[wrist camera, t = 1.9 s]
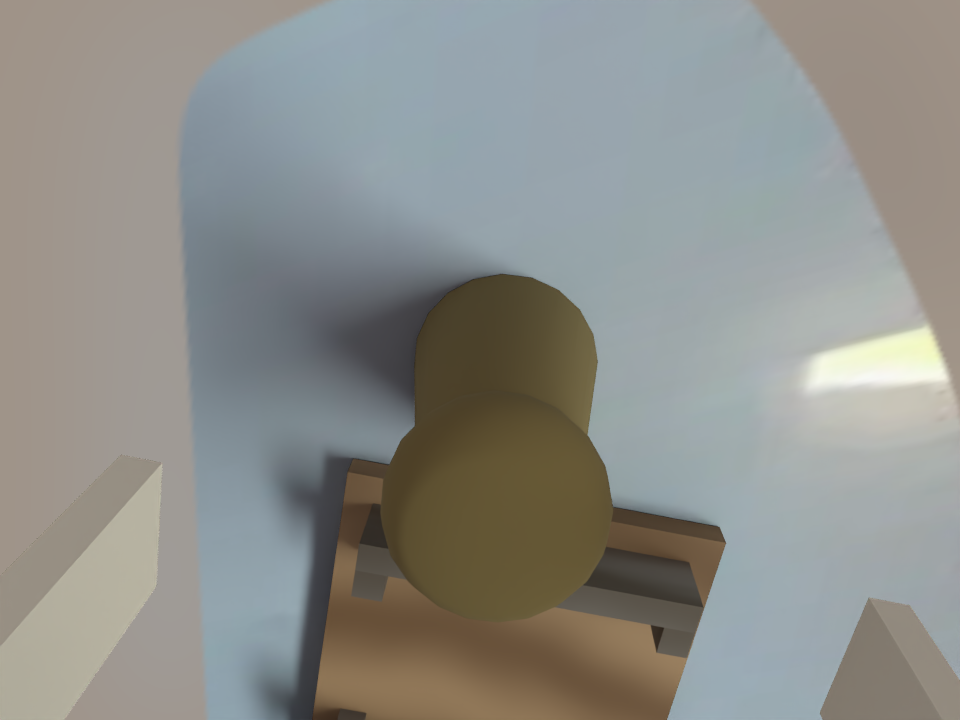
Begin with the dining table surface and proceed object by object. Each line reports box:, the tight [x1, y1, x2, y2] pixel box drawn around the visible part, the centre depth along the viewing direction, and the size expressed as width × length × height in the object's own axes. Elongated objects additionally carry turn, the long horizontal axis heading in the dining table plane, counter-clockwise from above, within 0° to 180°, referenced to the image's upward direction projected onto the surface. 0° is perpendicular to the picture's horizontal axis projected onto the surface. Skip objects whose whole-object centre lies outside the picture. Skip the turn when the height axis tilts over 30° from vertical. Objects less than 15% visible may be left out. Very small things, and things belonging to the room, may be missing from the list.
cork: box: [380, 274, 613, 623], centre depth 22 cm, size 6×6×11 cm
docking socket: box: [312, 459, 726, 720], centre depth 30 cm, size 13×13×4 cm
